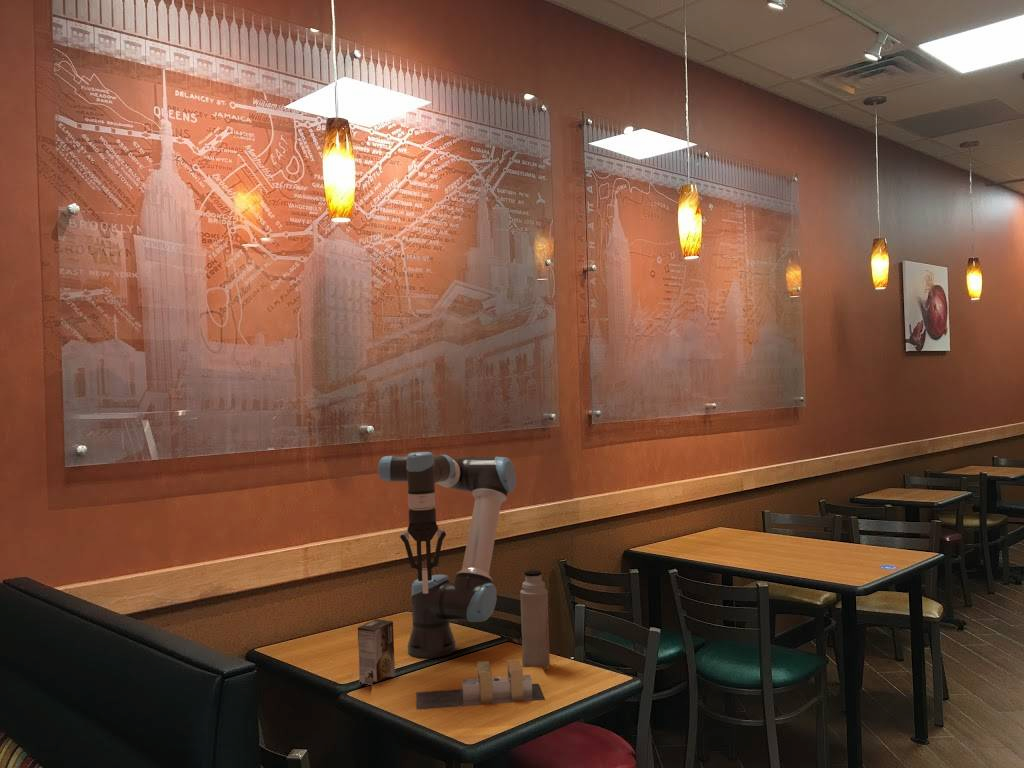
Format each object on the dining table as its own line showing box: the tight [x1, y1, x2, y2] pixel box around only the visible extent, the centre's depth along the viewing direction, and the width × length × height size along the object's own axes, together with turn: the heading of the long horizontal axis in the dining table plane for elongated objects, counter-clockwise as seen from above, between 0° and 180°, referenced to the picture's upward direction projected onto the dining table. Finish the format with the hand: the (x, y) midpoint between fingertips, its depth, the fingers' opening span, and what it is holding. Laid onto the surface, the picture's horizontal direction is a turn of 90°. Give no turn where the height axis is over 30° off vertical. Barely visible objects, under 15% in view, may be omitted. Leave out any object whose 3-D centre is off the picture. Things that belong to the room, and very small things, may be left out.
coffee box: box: [357, 618, 396, 686], centre depth 237 cm, size 9×6×16 cm
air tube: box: [461, 674, 533, 700], centre depth 219 cm, size 4×18×4 cm, turn 97°
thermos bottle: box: [519, 569, 551, 671], centre depth 245 cm, size 8×8×28 cm
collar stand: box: [415, 658, 546, 711], centre depth 219 cm, size 12×33×9 cm, turn 97°
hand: (425, 592), depth 233 cm, fingers closed
